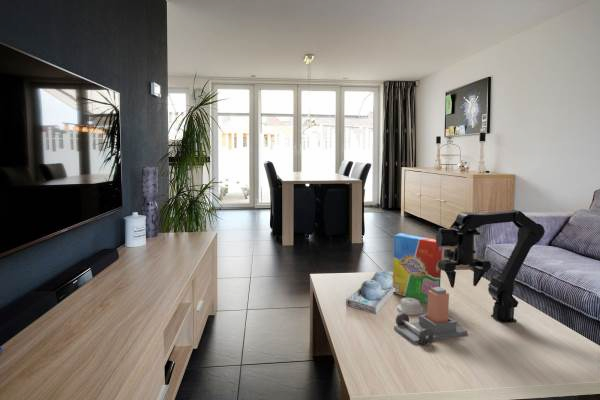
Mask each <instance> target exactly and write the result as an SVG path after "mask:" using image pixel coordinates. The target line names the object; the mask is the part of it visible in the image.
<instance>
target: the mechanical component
mask: <svg viewBox="0 0 600 400" xmlns="http://www.w3.org/2000/svg"><path fill="white" fill-rule="evenodd" d="M396 309H397V311H398V312H399V313H405V314H406V315H408V316H419V315H422V314H423V312H424V311H423V310H424V308H423V307H422V306H421V301H419V300H417V299H414V298H408V297H402V298H401V299H400V303H399V304H397V308H396Z"/></svg>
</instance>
